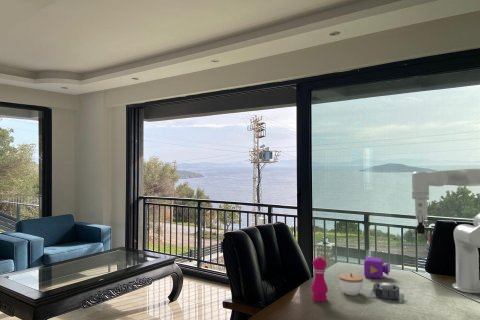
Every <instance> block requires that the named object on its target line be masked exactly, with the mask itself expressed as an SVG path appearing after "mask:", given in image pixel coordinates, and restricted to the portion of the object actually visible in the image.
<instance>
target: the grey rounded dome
mask: <svg viewBox="0 0 480 320" xmlns="http://www.w3.org/2000/svg"><path fill="white" fill-rule="evenodd" d="M378 283H379V288H382V289H387V290H393V285H394V284H393V283H390V282H378Z"/></svg>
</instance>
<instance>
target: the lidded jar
mask: <svg viewBox="0 0 480 320" xmlns="http://www.w3.org/2000/svg"><path fill="white" fill-rule="evenodd" d="M339 285H340V288H341V291H343V292H344V294H345V295H348V296H358V295H359V294H360V292H361V291H362V290H363V285H364V277H362V275H359V274H356V273H353V272H350V273H341V274H339Z"/></svg>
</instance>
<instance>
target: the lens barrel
mask: <svg viewBox="0 0 480 320" xmlns="http://www.w3.org/2000/svg"><path fill="white" fill-rule="evenodd" d="M379 283H380V282H377V283H374V284H373V286H372V287H373V288H372V289H371V291H370V293H369V295H368V298H369V299H376V300H381V301H386V302H387V301H388V302H394V303H399V304H403V299H404V297H405V294H404V293H400V286H398V285H395V284H393V290H387V289H382V288H379Z"/></svg>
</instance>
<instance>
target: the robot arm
mask: <svg viewBox="0 0 480 320" xmlns="http://www.w3.org/2000/svg"><path fill="white" fill-rule="evenodd" d="M411 185H412V186H411V196H412V197H411V199H413V200H414V211H415V212H414V213H415V220H417V224H416V227H417V228H416V233H417V234H420V235H424V234H425V231H426V230H425V221H427V220H428V200H430V187H443V186H456V187H457V186H458V187H474V186H477V187H478V186H480V168H461V169H449V170H431V171H430V170H429V171H413V172H412V175H411ZM472 222H473V223H472V224H473V225H471V224H466V223H464V224H463V223H462V224H458V225H457V226H455V228H454V229H453V240H454V244H455V283H453V284H452V288H453V289H454V290H457V291H460V292H463V293H470V294H480V268H479V267H480V262H479V261H480V259H479V258H480V255H479V249H480V212H479V213H478V214H476V215H475V216H474V217H473V220H472Z"/></svg>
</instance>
